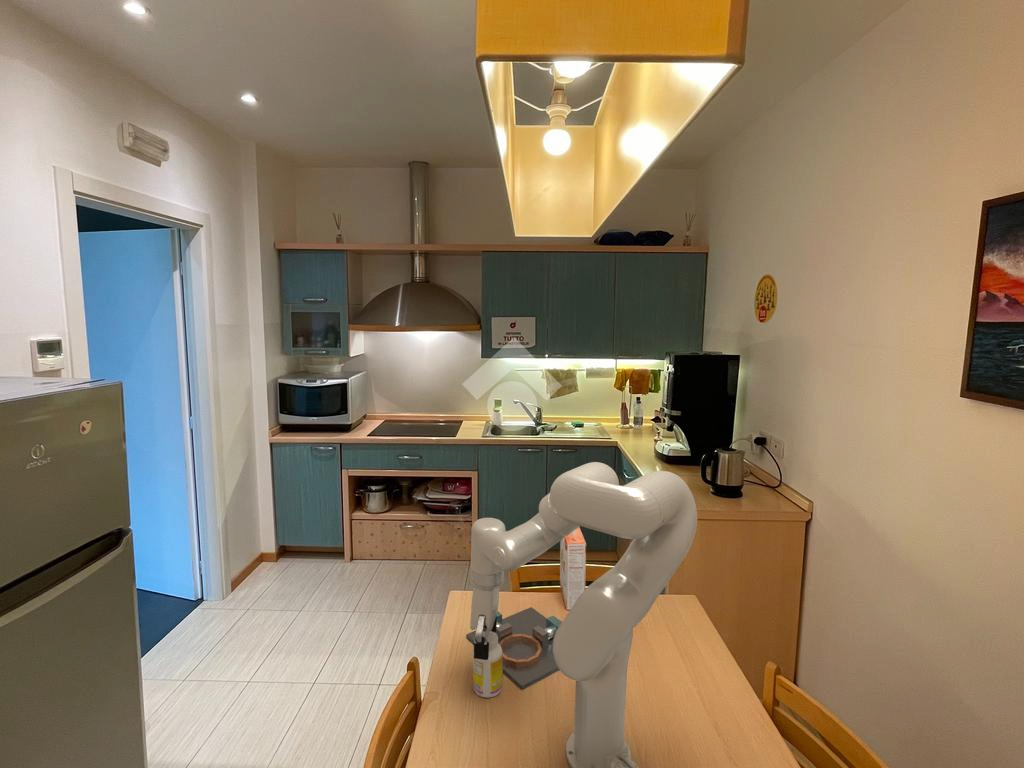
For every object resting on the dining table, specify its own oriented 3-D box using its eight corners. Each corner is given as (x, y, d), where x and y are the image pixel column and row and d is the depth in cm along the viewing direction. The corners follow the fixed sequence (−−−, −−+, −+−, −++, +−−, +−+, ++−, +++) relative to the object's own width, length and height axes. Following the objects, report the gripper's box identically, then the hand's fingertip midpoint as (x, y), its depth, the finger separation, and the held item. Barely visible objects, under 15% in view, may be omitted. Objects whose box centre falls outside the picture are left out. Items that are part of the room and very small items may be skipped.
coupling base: (590, 653, 133) (591, 635, 133) (521, 690, 120) (522, 670, 120) (531, 610, 153) (531, 594, 152) (466, 637, 139) (466, 620, 139)
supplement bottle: (504, 679, 124) (504, 629, 122) (500, 700, 117) (500, 647, 115) (475, 677, 124) (475, 627, 123) (470, 697, 118) (470, 645, 116)
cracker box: (558, 586, 166) (559, 522, 163) (577, 585, 166) (579, 522, 163) (564, 611, 152) (566, 542, 149) (585, 610, 152) (587, 542, 150)
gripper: (478, 554, 126) (477, 619, 129) (461, 593, 109) (460, 668, 112) (509, 557, 125) (507, 623, 128) (497, 597, 108) (495, 672, 111)
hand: (485, 644), depth 120 cm, fingers open, 9 cm apart
